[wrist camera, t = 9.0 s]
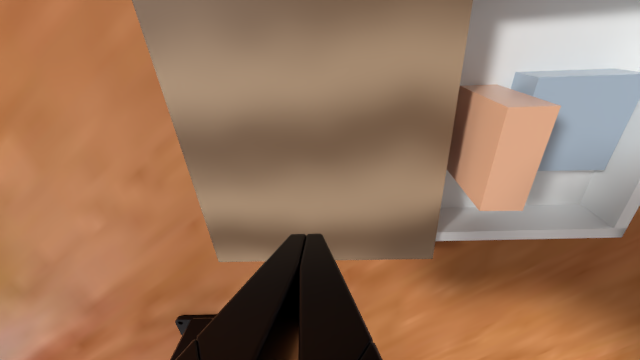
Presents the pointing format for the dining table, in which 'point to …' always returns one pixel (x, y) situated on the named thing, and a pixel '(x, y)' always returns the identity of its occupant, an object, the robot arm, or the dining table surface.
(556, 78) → the slate tile
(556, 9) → the tray
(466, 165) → the terracotta tile
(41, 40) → the dining table surface
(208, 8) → the walnut board
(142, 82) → the dining table surface
